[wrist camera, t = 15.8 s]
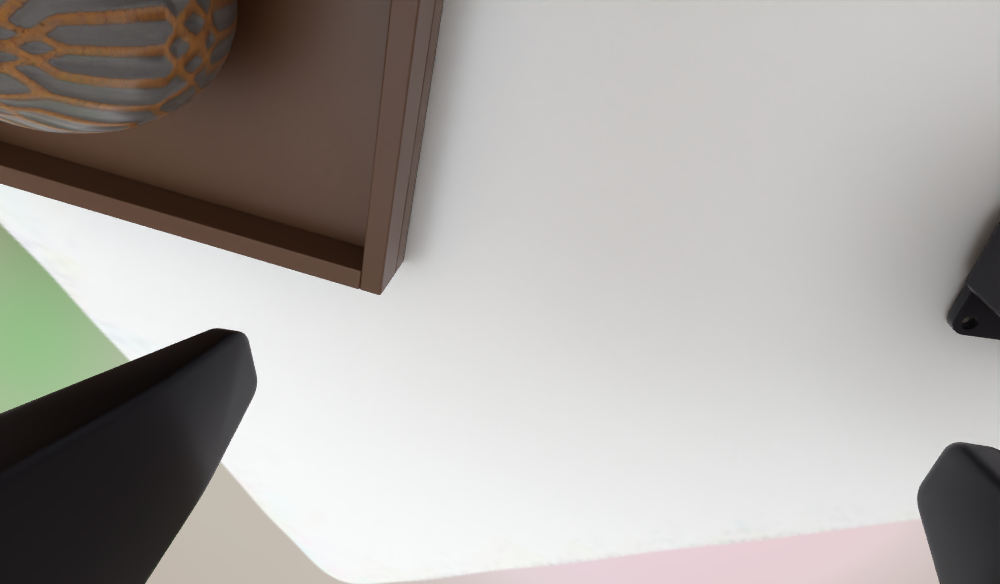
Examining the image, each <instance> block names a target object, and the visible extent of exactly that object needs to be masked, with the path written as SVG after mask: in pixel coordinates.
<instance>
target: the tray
mask: <svg viewBox="0 0 1000 584" xmlns="http://www.w3.org/2000/svg"><path fill="white" fill-rule="evenodd" d="M442 7H443V0H237V25H236V31H235V35H234V39H233V42H232V46H231V49H230V52H229V54H228V56H227V59H226V60H225V62H224V64H223V66H222V67H221V69H220V71H219V72H218V74H217V75H216V77H215V78H214V79H213V80H212V82H211V83H210V84H209V85H208V86H207V87H206V88H205V89H204V90H203V91H202V92H201V93H200V94H199V95H198V96H197V97H196V98H194V99H193V100H192V101H190V102H189V103H187V104H186V105H184V106H183V107H181V108H179V109H178V110H176V111H174V112H172V113H170V114H168V115H167V116H165V117H162V118H160V119H158V120H155V121H153V122H150V123H148V124H145V125H142V126H138V127H134V128H130V129H125V130H120V131H112V132H103V133H87V134H75V133H56V132H47V131H40V130H34V129H30V128H25V127H21V126H17V125H13V124H10V123H7V122H3V121H0V184H4V185H7V186H10V187H14V188H17V189H21V190H24V191H27V192H31V193H34V194H37V195H41V196H44V197H48V198H51V199H54V200H58V201H61V202H65V203H68V204H71V205H75V206H78V207H82V208H85V209H88V210H92V211H95V212H99V213H102V214H105V215H109V216H112V217H116V218H119V219H122V220H126V221H129V222H132V223H136V224H139V225H143V226H146V227H149V228H153V229H156V230H160V231H163V232H166V233H170V234H173V235H177V236H180V237H183V238H187V239H190V240H194V241H197V242H200V243H204V244H207V245H210V246H214V247H217V248H221V249H224V250H227V251H231V252H234V253H238V254H241V255H244V256H248V257H251V258H255V259H258V260H261V261H265V262H268V263H272V264H275V265H278V266H282V267H285V268H289V269H292V270H295V271H299V272H302V273H305V274H309V275H312V276H316V277H319V278H322V279H326V280H329V281H333V282H336V283H339V284H343V285H346V286H350V287H353V288H356V289H359V288H360V289H361V290H364V291H367V292H371V293H374V294H377V295H381V293H382V292H383V290H384V289H385V287H386V286H387V285H388V283H389V282H390V280H391V279H392V277H393V276H394V274H395V273H396V271H397V270H398V268H399V267H400V265H401V264H402V263H403V259H404V253H405V246H406V240H407V233H408V227H409V220H410V214H411V207H412V201H413V195H414V188H415V182H416V175H417V169H418V162H419V156H420V149H421V143H422V136H423V130H424V123H425V117H426V110H427V104H428V97H429V91H430V85H431V78H432V72H433V65H434V59H435V52H436V46H437V39H438V33H439V26H440V20H441V13H442Z"/></svg>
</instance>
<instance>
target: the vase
mask: <svg viewBox="0 0 1000 584" xmlns="http://www.w3.org/2000/svg"><path fill="white" fill-rule="evenodd" d="M236 25H237V0H0V121H3V122H7V123H10V124H13V125H17V126H21V127H25V128H30V129H34V130H40V131H47V132H56V133H75V134H87V133H103V132H112V131H120V130H125V129H130V128H134V127H138V126H142V125H145V124H148V123H150V122H153V121H155V120H158V119H160V118H162V117H165V116H167V115H168V114H170V113H172V112H174V111H176V110H178V109H179V108H181V107H183V106H184V105H186V104H187V103H189V102H190V101H192V100H193V99H194V98H196V97H197V96H198V95H199V94H200V93H201V92H202V91H203V90H204V89H205V88H206V87H207V86H208V85H209V84H210V83H211V82H212V80H213V79H214V78H215V77H216V75H217V74H218V72H219V71H220V69H221V67H222V66H223V64H224V62H225V60H226V59H227V56H228V54H229V52H230V49H231V46H232V42H233V39H234V35H235V31H236Z"/></svg>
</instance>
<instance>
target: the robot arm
mask: <svg viewBox="0 0 1000 584" xmlns="http://www.w3.org/2000/svg"><path fill="white" fill-rule="evenodd" d="M968 317H972V318H971V319H970V320H969V321H967V322H962V321H963V320H964V319H965V318H968ZM947 322H948V324H949V325H950V326H951V327H952V328H953V329H954V330H955V331H956V332H957V333H959V334H962V335H968V336H975V337H983V338H990V339H998V340H1000V222H999V224H998V226H997V227H996V229H995V231H994V233H993V234H992V236H991V238H990V240H989V241H988V243H987V245H986V247H985V248H984V250H983V252H982V253H981V255H980V257H979V259H978V260H977V262H976V264H975V266H974V267H973V269H972V271H971V273H970V274H969V276H968V278H967V280H966V284H965V286H964V288H963V289H962V291H961V293H960V295H959V296H958V298H957V300H956V302H955V303H954V305H953V307H952V309H951V310H950V312H949V314H948V316H947ZM256 387H257V375H256V371H255V366H254V362H253V358H252V353H251V349H250V344H249V341H248V338H247V337H246V335H245V334H244V333H242V332H239V331H234V330H227V329H221V328H214V329H210V330H208V331H205V332H203V333H200V334H198V335H195V336H193V337H190V338H188V339H185V340H183V341H180V342H178V343H175V344H173V345H170V346H168V347H165V348H163V349H160V350H158V351H155V352H153V353H150V354H148V355H145V356H143V357H140V358H138V359H135V360H133V361H130V362H128V363H125V364H123V365H120V366H118V367H116V368H113V369H110V370H108V371H105V372H104V373H101V374H98V375H95V376H93V377H90V378H88V379H85V380H83V381H81V382H78V383H76V384H73V385H71V386H68V387H66V388H63V389H61V390H58V391H56V392H53V393H51V394H48V395H46V396H43V397H41V398H38V399H36V400H33V401H31V402H28V403H26V404H23V405H21V406H19V407H16V408H13V409H11V410H8V411H6V412H3V413H1V414H0V584H145V583H146V581H147V580H148V578H149V577H150V575H151V574H152V572H153V571H154V569H155V567H156V566H157V564H158V563H159V561H160V560H161V558H162V557H163V555H164V553H165V552H166V551H167V549H168V547H169V546H170V544H171V543H172V541H173V540H174V538H175V537H176V535H177V533H178V532H179V530H180V529H181V527H182V526H183V524H184V523H185V521H186V520H187V518H188V516H189V515H190V513H191V512H192V510H193V509H194V507H195V506H196V504H197V502H198V501H199V499H200V497H201V496H202V494H203V492H204V491H205V489H206V487H207V485H208V484H209V482H210V480H211V478H212V476H213V475H214V473H215V471H216V469H217V467H218V465H219V463H220V461H221V459H222V457H223V455H224V453H225V451H226V449H227V447H228V445H229V443H230V441H231V439H232V437H233V435H234V434H235V432H236V430H237V428H238V426H239V424H240V422H241V420H242V418H243V416H244V414H245V412H246V410H247V408H248V406H249V404H250V402H251V400H252V398H253V396H254V394H255V391H256ZM917 502H918V509H919V512H920V516H921V519H922V523H923V526H924V530H925V533H926V537H927V540H928V544H929V547H930V551H931V554H932V557H933V561H934V564H935V569H936V572H937V575H938V579H939V583H940V584H1000V450H998V449H995V448H992V447H989V446H983V445H976V444H970V443H963V442H956V443H952V444H950V445H949V446H947V447H946V448H945V449H944V451H943V452H942V453H941V455H940V456H939V458H938V459H937V461H936V462H935V464H934V465H933V467H932V468H931V470H930V471H929V473H928V474H927V476H926V477H925V479H924V480H923V482H922V483H921V485H920V487H919V490H918V496H917Z"/></svg>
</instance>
